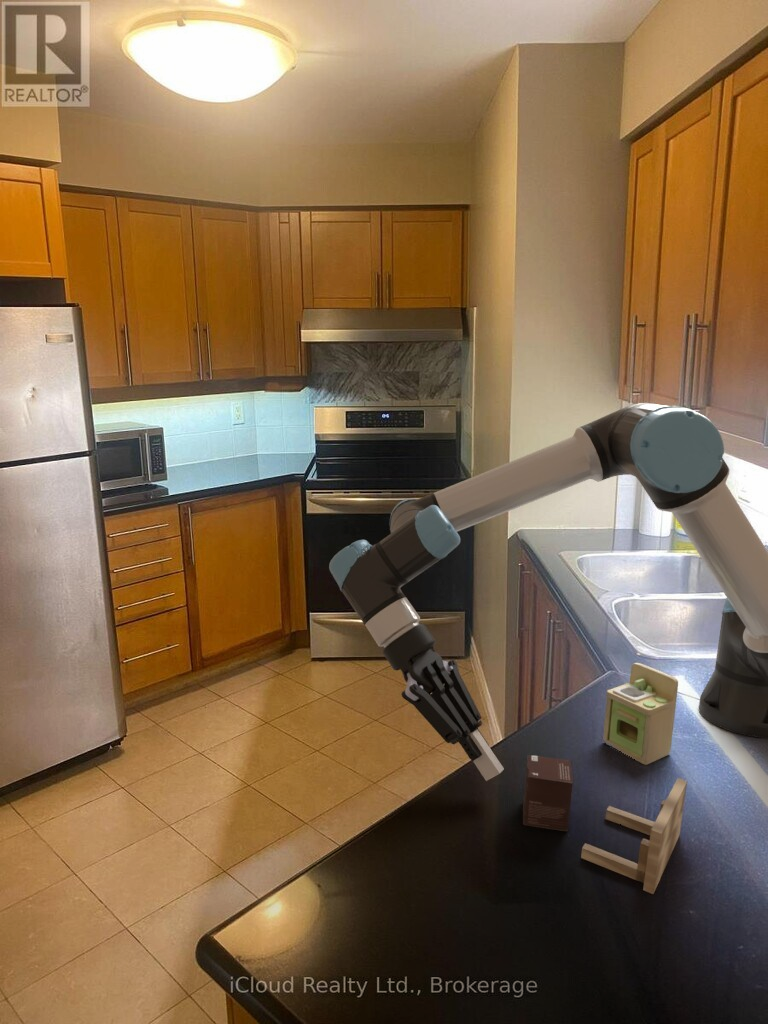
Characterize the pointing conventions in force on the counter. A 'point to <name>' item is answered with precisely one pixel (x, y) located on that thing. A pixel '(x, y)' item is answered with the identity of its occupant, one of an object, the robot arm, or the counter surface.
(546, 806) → the box
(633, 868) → the rack
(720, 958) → the counter surface
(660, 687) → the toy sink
